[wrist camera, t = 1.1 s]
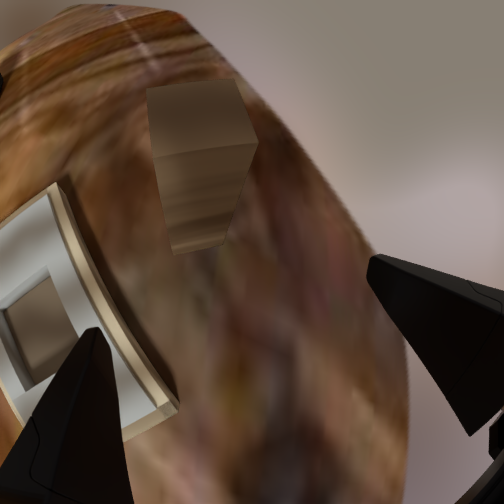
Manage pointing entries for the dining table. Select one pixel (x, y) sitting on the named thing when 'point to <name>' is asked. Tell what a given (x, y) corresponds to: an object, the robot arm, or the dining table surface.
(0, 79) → the battery
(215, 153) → the peg
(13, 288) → the tray
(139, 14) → the dining table surface
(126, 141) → the dining table surface
